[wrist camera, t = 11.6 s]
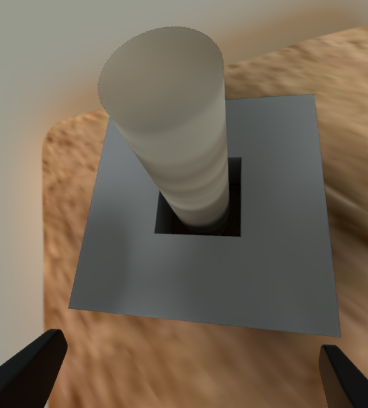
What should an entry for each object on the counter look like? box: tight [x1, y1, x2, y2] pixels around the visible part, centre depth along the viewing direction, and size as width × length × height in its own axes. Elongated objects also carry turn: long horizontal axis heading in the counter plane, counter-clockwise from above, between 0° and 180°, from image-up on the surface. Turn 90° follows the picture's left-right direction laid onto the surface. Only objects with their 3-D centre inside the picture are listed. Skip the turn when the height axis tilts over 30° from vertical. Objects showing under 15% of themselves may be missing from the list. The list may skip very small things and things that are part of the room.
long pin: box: [98, 27, 230, 236], centre depth 13 cm, size 4×4×13 cm
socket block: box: [68, 94, 341, 337], centre depth 17 cm, size 14×14×4 cm
